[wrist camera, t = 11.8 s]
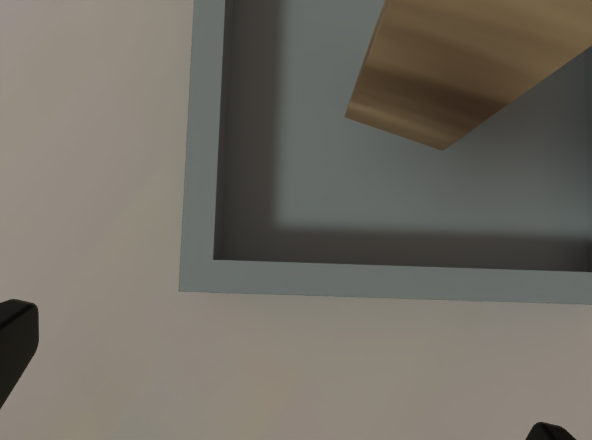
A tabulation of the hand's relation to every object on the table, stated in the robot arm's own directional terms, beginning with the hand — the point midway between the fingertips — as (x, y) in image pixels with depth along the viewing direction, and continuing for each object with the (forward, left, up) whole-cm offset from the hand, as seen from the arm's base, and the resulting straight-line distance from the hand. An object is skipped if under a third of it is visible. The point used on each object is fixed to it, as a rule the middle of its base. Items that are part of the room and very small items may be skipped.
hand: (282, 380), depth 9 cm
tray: (+10, -5, -13) cm, 17 cm away
